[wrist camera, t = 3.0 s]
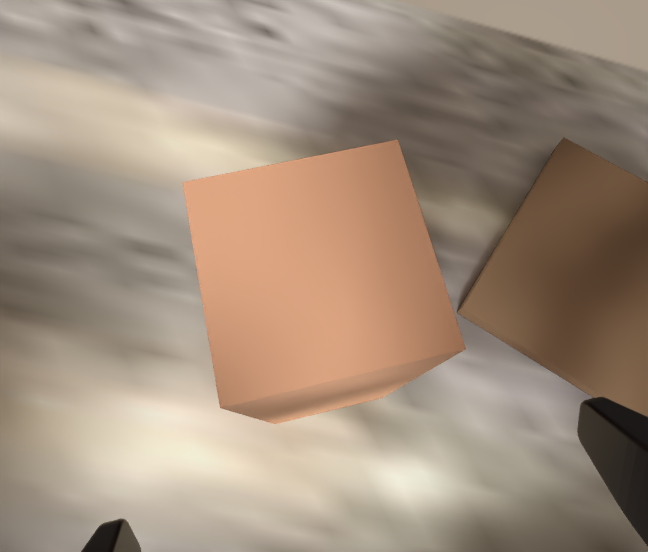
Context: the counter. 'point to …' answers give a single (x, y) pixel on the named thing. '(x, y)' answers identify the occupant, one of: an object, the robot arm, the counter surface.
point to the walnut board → (575, 277)
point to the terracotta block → (318, 283)
